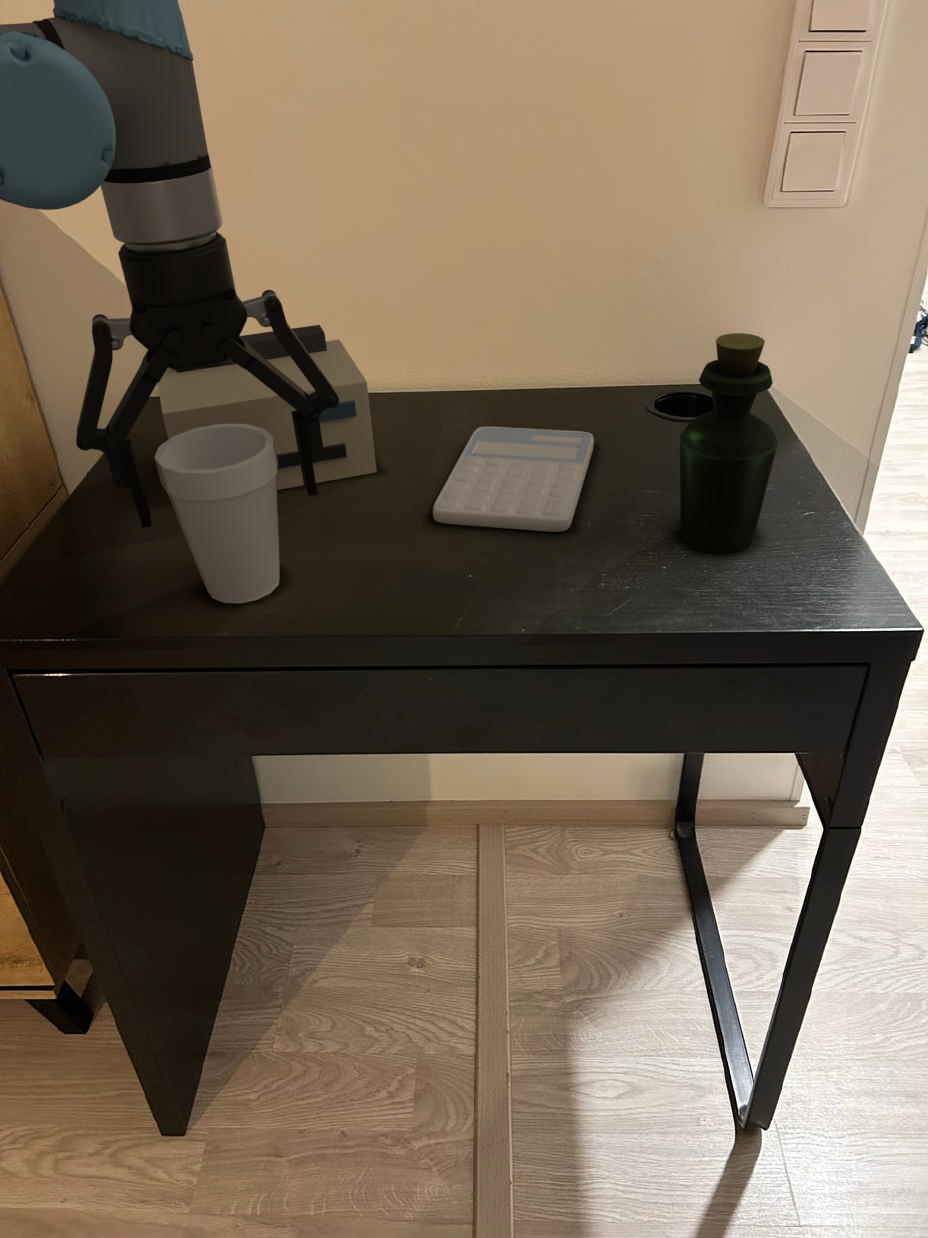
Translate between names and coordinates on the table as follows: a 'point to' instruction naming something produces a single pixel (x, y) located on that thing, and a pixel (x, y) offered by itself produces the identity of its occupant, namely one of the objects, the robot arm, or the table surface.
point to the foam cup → (226, 506)
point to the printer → (279, 406)
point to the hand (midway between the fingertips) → (230, 504)
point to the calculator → (516, 479)
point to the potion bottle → (727, 451)
